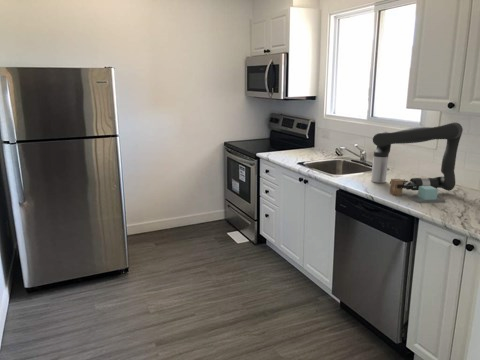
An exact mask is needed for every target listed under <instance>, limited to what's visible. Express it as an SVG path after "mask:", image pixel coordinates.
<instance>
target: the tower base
mask: <svg viewBox="0 0 480 360" xmlns="http://www.w3.org/2000/svg"><path fill="white" fill-rule="evenodd" d="M417 191H418V192H417V195H409V198H408V199H410V200H412V201H414V202H415V203H418V204H419V203H426V204H427V203H446V199H445V198H442V197H440V196H438V192H439V188H437V189H436V188H434V187H432V186H419V190H417Z"/></svg>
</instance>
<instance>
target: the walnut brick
mask: <svg viewBox="0 0 480 360" xmlns="http://www.w3.org/2000/svg"><path fill="white" fill-rule="evenodd" d="M403 180H404V179H401V178H391V179H390V181H391V184H389V186H390V187H389V194H390V195H392V196H393V197H394V196H395V197H396V196H397V197H398V196H400V197H401V196H402V195H403V190H404V188H397V185H398V184H403Z"/></svg>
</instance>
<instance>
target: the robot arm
mask: <svg viewBox="0 0 480 360" xmlns="http://www.w3.org/2000/svg"><path fill="white" fill-rule="evenodd" d="M463 130H464V129H463V126H462V125H461V124H460V123H459V122H450V123H447V124H442V125H438V126H434V127H431V126H430V127H429V126H427V127H426V126H421V127H418V126H417V127H411V128H405V129H402V130H398V131H394V132H393V131H392V132H389V131H381V132H377V133H375V134H374V135H373V138H372V143H373V144H374V145H375V146H376V148H375V150H374V151H373V157H372V158H373V159H372V167H371V178H370V179H371V182H372V183H377V184H383V183H386V181H387V172H388V164H389V163H388V162H389V154H390V152H391V147H392V145H395V144H396V145H397V144H401V145H402V144H403V145H404V144H417V143H424V142H428V141H433V140H434V141H435V140H446V144H445V145H446V147H445V150H444V153H443V156H442V161H441V168H440V171H441V173H442V174H443V176H436V177H411V178H410V179H409V180H407V179H406V178H405V179H402V180H403V184H398V185H397V188H403V190H407V191H408V190H410V191H418V190H419V186H432V187H434V188H436V189H439V188H441V189H443V190H445V191H452V190H454V188H455V187H456V176H455V175H456V174H455V167H456V160H457V153H458V147H459V145H460V144H459V143H460V140H461V137H462V134H463V132H464V131H463ZM389 185H391V180H390V181H389Z"/></svg>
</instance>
